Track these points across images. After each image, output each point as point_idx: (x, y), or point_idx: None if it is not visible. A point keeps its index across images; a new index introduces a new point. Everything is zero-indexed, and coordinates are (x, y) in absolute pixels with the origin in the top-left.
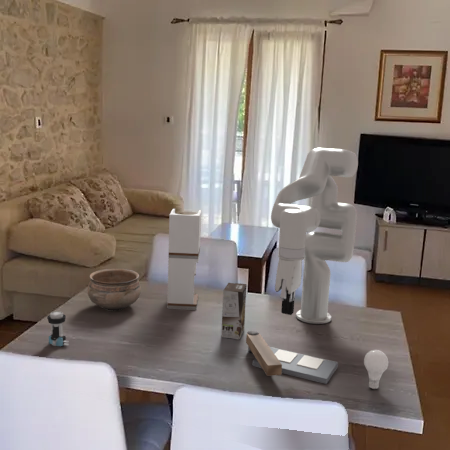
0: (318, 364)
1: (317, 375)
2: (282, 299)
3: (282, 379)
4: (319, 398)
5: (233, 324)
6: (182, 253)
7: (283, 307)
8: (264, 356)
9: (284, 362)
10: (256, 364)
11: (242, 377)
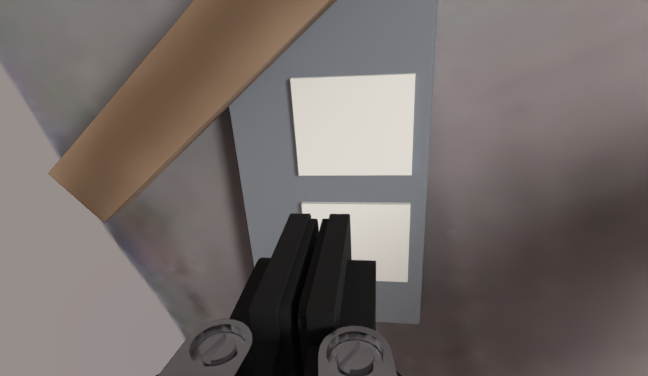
0: None
1: None
2: (188, 348)
3: (199, 172)
4: (168, 304)
5: None
6: None
7: (248, 279)
8: (112, 122)
9: (293, 149)
10: None
11: (99, 21)
